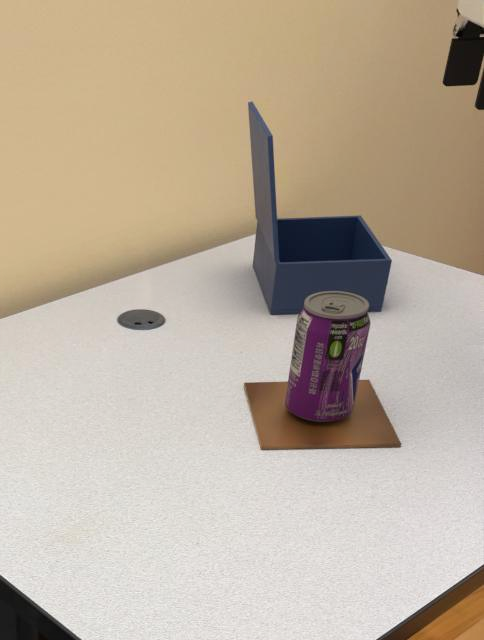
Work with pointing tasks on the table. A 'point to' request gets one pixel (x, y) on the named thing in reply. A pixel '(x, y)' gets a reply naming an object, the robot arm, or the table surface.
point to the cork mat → (297, 433)
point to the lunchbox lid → (264, 179)
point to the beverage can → (327, 356)
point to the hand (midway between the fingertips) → (475, 96)
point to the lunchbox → (321, 262)
